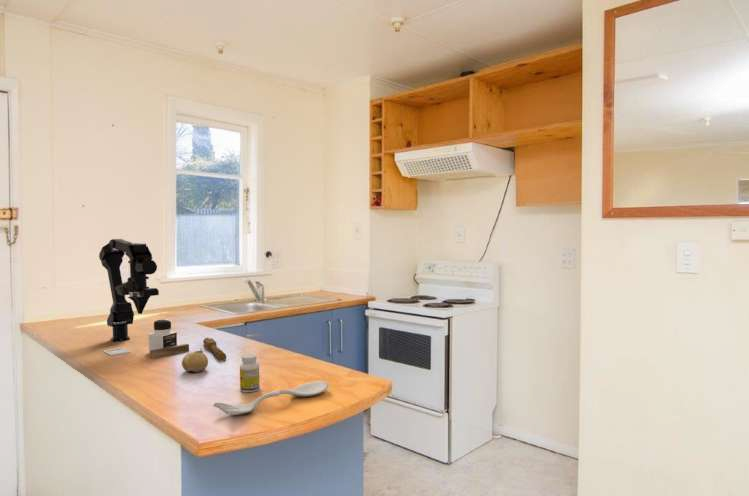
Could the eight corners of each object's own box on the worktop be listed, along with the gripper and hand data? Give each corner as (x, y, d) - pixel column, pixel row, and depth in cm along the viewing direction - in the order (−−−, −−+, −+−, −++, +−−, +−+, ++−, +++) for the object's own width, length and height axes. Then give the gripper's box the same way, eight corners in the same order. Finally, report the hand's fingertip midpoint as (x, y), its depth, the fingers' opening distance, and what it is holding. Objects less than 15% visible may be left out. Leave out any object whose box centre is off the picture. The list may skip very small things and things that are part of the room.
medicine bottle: (163, 354, 184) (162, 322, 183) (148, 353, 186) (147, 321, 186) (177, 350, 190) (176, 319, 190) (162, 348, 193) (162, 318, 192)
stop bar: (150, 357, 180) (150, 350, 179) (186, 349, 190) (185, 343, 190) (153, 358, 178) (152, 351, 178) (189, 350, 189) (188, 344, 189)
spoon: (212, 415, 124) (212, 401, 123) (315, 386, 146) (315, 375, 146) (230, 425, 117) (230, 410, 117) (335, 393, 139) (335, 381, 139)
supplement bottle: (242, 387, 145) (241, 353, 144) (260, 386, 145) (260, 353, 145) (238, 393, 139) (238, 358, 139) (258, 392, 140) (257, 358, 139)
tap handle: (217, 353, 174) (202, 337, 200) (218, 362, 174) (202, 344, 200) (226, 352, 175) (210, 336, 201) (227, 361, 175) (210, 343, 201)
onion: (192, 376, 156) (192, 353, 156) (176, 372, 161) (176, 350, 160) (213, 369, 163) (212, 348, 163) (197, 366, 167) (197, 345, 167)
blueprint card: (102, 350, 190) (102, 350, 190) (122, 347, 194) (122, 347, 194) (110, 355, 182) (110, 354, 182) (130, 352, 187) (130, 351, 187)
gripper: (105, 276, 196) (107, 315, 196) (130, 275, 185) (132, 317, 185) (133, 274, 205) (134, 311, 205) (158, 273, 194) (160, 313, 194)
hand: (140, 313), depth 197 cm, fingers closed
